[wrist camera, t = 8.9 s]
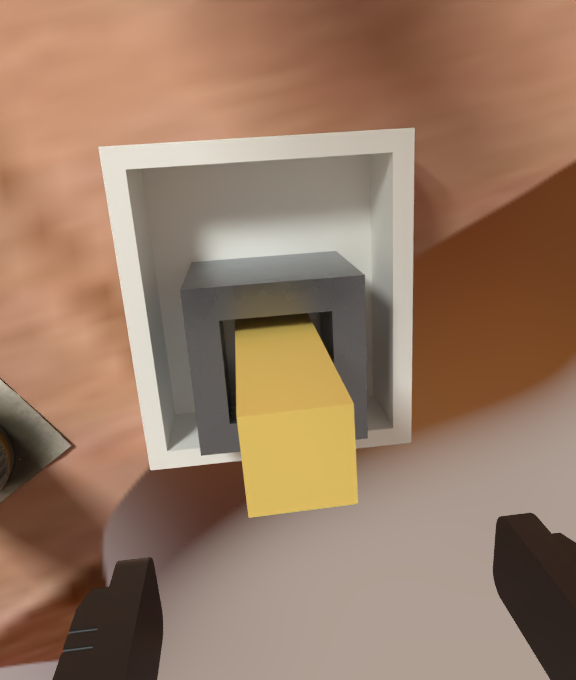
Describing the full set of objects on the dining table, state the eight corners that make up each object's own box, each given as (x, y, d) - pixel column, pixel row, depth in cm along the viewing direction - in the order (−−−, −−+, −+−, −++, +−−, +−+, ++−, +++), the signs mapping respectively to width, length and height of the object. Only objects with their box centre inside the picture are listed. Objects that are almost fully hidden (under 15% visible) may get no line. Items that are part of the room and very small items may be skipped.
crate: (120, 149, 28) (98, 146, 23) (385, 133, 29) (414, 127, 25) (161, 426, 33) (150, 470, 28) (386, 404, 34) (411, 442, 30)
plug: (234, 313, 28) (236, 417, 16) (304, 306, 28) (353, 403, 17) (242, 378, 29) (248, 517, 18) (309, 371, 29) (358, 503, 18)
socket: (191, 262, 30) (179, 289, 23) (335, 250, 30) (365, 275, 24) (207, 395, 32) (200, 455, 26) (340, 383, 33) (367, 438, 26)
